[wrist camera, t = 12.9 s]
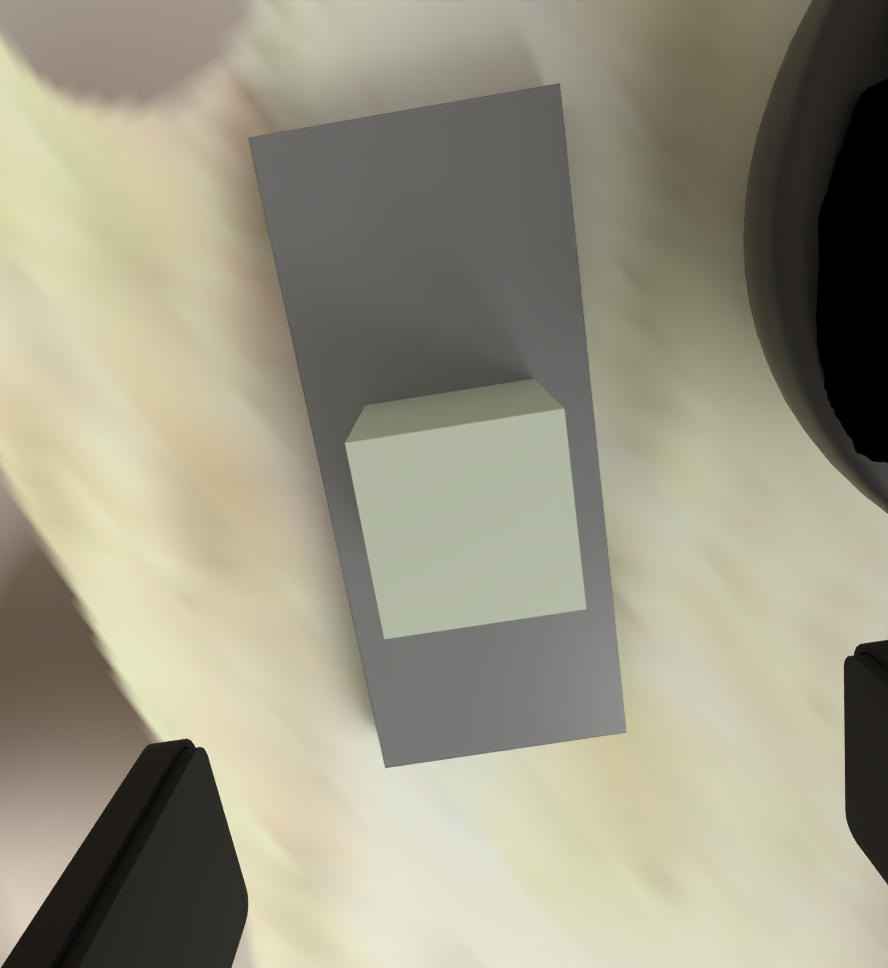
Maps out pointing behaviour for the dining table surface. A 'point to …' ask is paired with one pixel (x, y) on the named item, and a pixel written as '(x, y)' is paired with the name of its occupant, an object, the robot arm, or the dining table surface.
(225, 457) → the dining table surface
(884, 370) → the coal bowl
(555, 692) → the board
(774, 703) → the dining table surface
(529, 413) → the block
